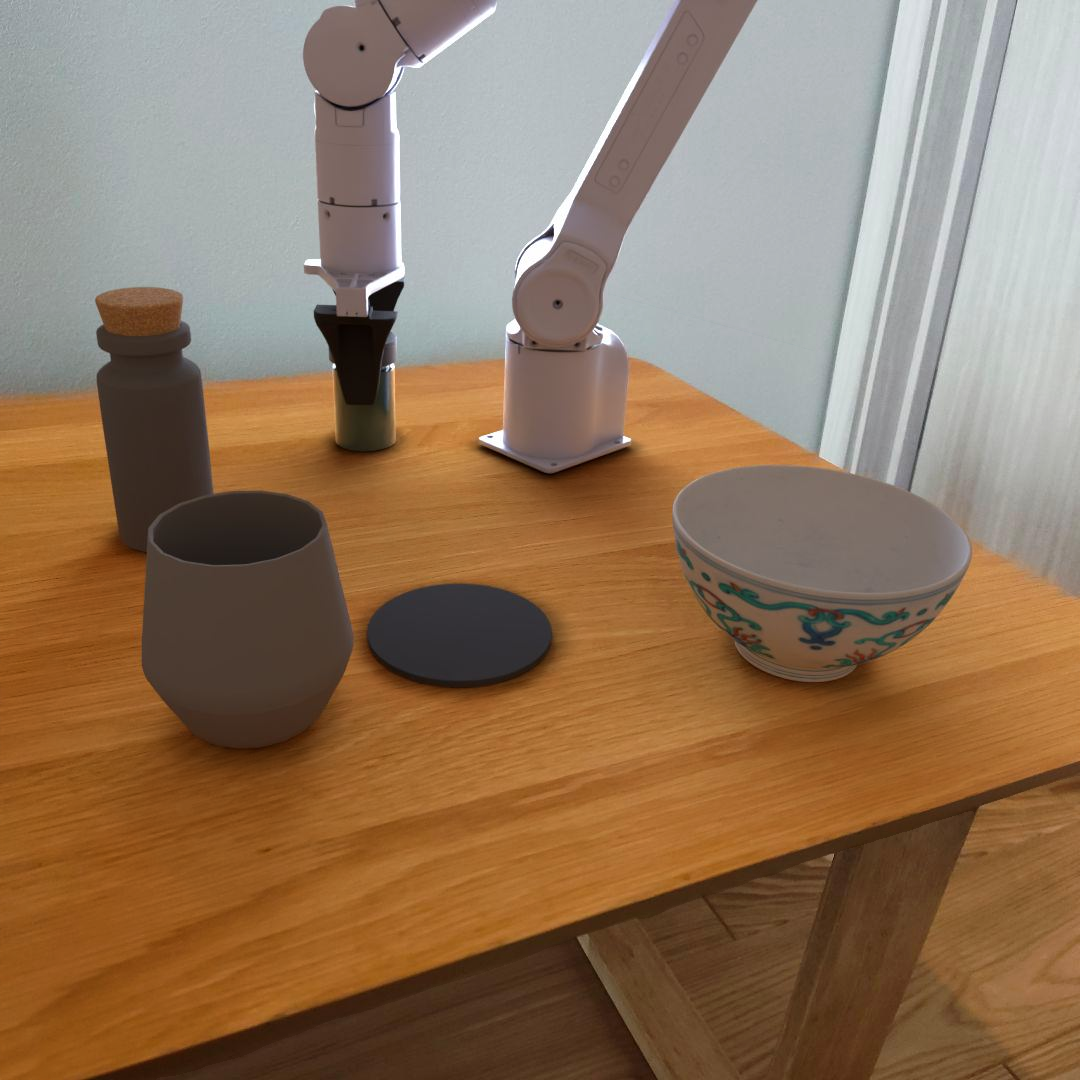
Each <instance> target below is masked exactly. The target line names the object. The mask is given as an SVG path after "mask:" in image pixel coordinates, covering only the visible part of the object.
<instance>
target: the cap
mask: <svg viewBox="0 0 1080 1080" xmlns="http://www.w3.org/2000/svg"><path fill="white" fill-rule="evenodd" d="M328 360H329V361H330V362H331V364H332V365H333V364H335V363H334V360H333V357H332V354H331V351H330V349H329V348H328ZM397 360H398V336H397V334H395V333H394V332H393V331H390V333H389V335H388V338H387V341H386V343H385V347H384V352H383V357H382V363H381V367H385V366H388V365H391V364H395V363H396V362H397Z"/></svg>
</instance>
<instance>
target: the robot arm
mask: <svg viewBox="0 0 1080 1080" xmlns="http://www.w3.org/2000/svg"><path fill="white" fill-rule="evenodd" d="M757 2H758V0H673V1H672V3H671V5H670V6H669V8H668V9H667V12H666V14H665V16H664V18H663V19H662V21H661V23H660V25H659V27H658V28H657V31H656V32H655V34H654V37H653V38H652V40H651V42H650V44H649V46H648V48H647V50H646V51H645V53H644V55H643V57H642V59H641V61H640V63H639V64H638V67H637V68H636V70H635V72H634V74H633V76H632V77H631V79H630V81H629V83H628V85H627V87H626V89H625V90H624V93H623V94H622V96H621V98H620V100H619V101H618V104H617V105H616V107H615V109H614V111H613V113H612V114H611V117H610V119H609V121H608V122H607V124H606V126H605V128H604V130H603V132H602V133H601V135H600V137H599V139H598V141H597V143H596V145H595V146H594V148H593V150H592V153H591V154H590V156H589V157H588V160H587V161H586V163H585V165H584V167H583V169H582V171H581V173H580V174H579V176H578V179H577V181H576V182H575V184H574V186H573V188H572V190H571V191H570V193H569V194H568V196H567V197H566V198H565V200H564V201H563V203H562V204H561V205H560V207H559V208H558V209H557V211H556V213H555V215H554V217H553V219H552V220H551V222H550V224H549V225H548V226H547V228H545V230H544V231H543V232H542V233H541V234H539V235H537V236H535V237H534V238H533V239H532V240H530V241H529V242H528V243H527V244H526V245H525V246H524V247H523V248H522V250H521V251H520V254H519V255H518V257H517V260H516V263H515V269H514V280H515V284H514V287H513V291H512V296H511V308H512V313H513V314H512V315H513V316H514V319H513V320H512V321H510V322H509V323H508V324H506V326H505V352H504V378H503V379H504V382H503V383H504V385H503V412H502V413H503V415H502V430H498V431H495V432H492V433H489V434H485V435H482V436H480V437H478V444H479V445H481V446H483V447H485V448H487V449H490V450H492V451H495V452H497V453H499V454H501V455H504V456H506V457H508V458H510V459H512V460H515V461H517V462H519V463H522V464H524V465H526V466H529V467H532V468H533V469H536V470H538V471H540V472H542V473H544V474H554V473H555V474H556V473H557V472H561V471H563V470H566V469H569V468H571V467H575V466H577V465H580V464H584V463H586V462H589V461H592V460H595V459H597V458H599V457H602V456H604V455H608V454H610V453H614V452H616V451H619V450H623V449H625V448H627V447H630V446H631V445H632V439H631V437H627V436H625V426H626V425H625V424H626V412H627V401H628V390H629V379H630V360H629V356H628V355H629V354H628V352H627V350H626V347H625V344H624V343H623V341H622V340H621V338H620V337H619V335H617V334H616V333H615V332H614V331H613V330H611V329H609V328H607V327H605V326H603V325H601V324H599V322H600V320H601V317H602V313H603V310H604V297H605V296H604V294H605V293H604V292H605V287H606V284H607V282H608V279H609V278H610V275H611V273H612V272H613V270H614V268H615V267H616V264H617V261H618V259H619V255H620V252H621V249H622V247H623V244H624V240H625V237H626V235H627V233H628V230H629V229H630V226H631V224H632V222H633V221H634V219H635V217H636V216H637V215H638V212H639V210H640V209H641V207H642V206H643V204H644V201H645V200H646V198H647V196H648V195H649V193H650V191H651V189H652V187H653V186H654V185H655V182H656V180H657V179H658V177H659V175H660V173H661V172H662V170H663V168H664V167H665V164H666V163H667V162H668V159H669V158H670V156H671V154H672V152H673V151H674V148H675V146H677V143H678V141H679V140H680V138H681V136H682V135H683V133H684V131H685V129H686V127H688V126H687V125H688V124H689V122H690V120H691V118H692V117H693V115H694V113H695V112H696V110H697V108H698V107H699V104H700V103H701V101H702V99H703V98H704V96H705V94H706V92H707V90H708V89H709V87H710V85H711V83H712V82H713V79H714V78H715V76H716V74H717V72H718V71H719V69H720V68H721V66H722V64H723V62H724V60H725V59H726V57H727V55H728V54H729V52H730V50H731V48H732V46H733V44H734V43H735V41H736V39H737V38H738V35H739V34H740V32H741V30H742V29H743V28H744V25H745V23H746V22H747V20H748V18H749V16H750V14H751V13H752V11H753V9H754V8H755V6H756V4H757ZM353 4H354V6H352V5H335V6H331V7H328V8H325V9H324V10H323V11H322V12H321V15H320V16H319V18H318V19H317V20H316V21H315V22H314V24H312V25H311V27H310V29H309V31H308V32H307V34H306V37H305V39H304V43H303V49H302V60H303V66H304V71H305V74H306V77H307V78H308V80H309V82H310V84H311V86H312V87H313V88H314V89H315V91H314V93H313V96H314V103H313V112H314V115H315V128H314V130H313V138H314V154H315V155H314V156H315V157H314V158H315V176H316V177H315V178H316V198H317V213H318V214H317V216H318V217H317V218H318V238H319V239H318V240H319V254H320V255H319V258H310V259H306V260H305V262H304V263H303V273H304V274H305V275H310V276H311V275H312V276H313V275H314V276H319V277H320V278H321V279H322V280H323V281H324V282H325V283H326V284H327V285H328V286H329V287H330V288H331V290H332V292H333V294H334V295H335V304H316V305H315V307H314V309H313V318H314V323H315V324H316V327H317V328H318V330H319V331H320V333H321V334H322V336H323V338H324V340H325V342H326V344H327V347H328V350H329V349H330V351H331V354H332V357H333V360H334V363H335V367H336V371H337V375H338V379H339V383H340V387H341V391H342V394H343V397H344V400H345V403H346V404H347V405H374V403H375V400H376V396H377V392H378V387H379V380H380V372H381V363H382V357H383V352H384V347H385V343H386V341H387V338H388V335H389V333H390V332H392V329H393V327H394V325H395V323H396V321H397V317H398V313H399V311H396V310H395V308H396V305H397V303H398V301H399V298H400V296H401V294H402V291H403V289H404V288H405V284H406V276H405V264H404V262H403V261H402V227H401V226H402V221H401V219H402V217H401V172H400V171H401V170H400V169H401V167H400V131H399V130H398V128H397V100H396V99H397V98H396V97H397V96H396V92H395V91H394V90H395V89H396V87H397V86H398V84H399V83H400V81H401V79H402V77H403V74H404V70H405V67H411V68H415V69H419V68H421V67H422V66H423V65H425V64H426V63H427V62H429V61H430V60H431V59H433V58H434V57H435V56H437V55H438V54H440V53H441V52H443V50H445V49H446V48H447V47H449V46H450V45H452V44H454V42H456V41H457V40H458V39H460V38H461V37H462V36H464V35H465V34H466V33H468V32H469V31H470V30H472V29H474V27H476V26H477V25H479V24H480V23H481V22H483V21H484V20H485V19H487V18H488V17H489V16H491V15H493V13H495V11H496V8H497V4H498V0H353Z"/></svg>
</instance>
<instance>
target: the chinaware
mask: <svg viewBox="0 0 1080 1080" xmlns="http://www.w3.org/2000/svg"><path fill="white" fill-rule="evenodd" d="M672 529H673V535H674V542H675V547H676V552H677V557H678V560H679V564H680V566H681V569H682V573H683V575H684V578H685V580H686V583H687V584H688V587H689V589H690V591H691V593H692V594H693V596H694V598H695V600H696V601H697V602H698V604H699V606H700V607H701V608H702V610H703V611H704V612H705V614H706V615H707V616H708V617H709V618H710V619H711V621H712V622H713V623H714V624H715V625H716V626H717V627H718V628H719V629H720V630H721V631H722V632H724V633H725V634H726V635H728V637H729V638H731V639H732V640H733V641H734V645H735V648H736V649H737V651H738V653H739V654H740V656H742V658H744V660H746V661H747V662H748V663H750V664H751V665H752V666H754V667H755V668H757V669H759V670H761V671H763V672H765V673H767V674H769V675H772V676H774V677H778V678H781V679H785V680H788V681H789V680H790V681H795V682H801V683H802V682H803V683H822V682H823V683H824V682H830V681H835V680H838V679H841V678H844V677H846V676H848V675H849V674H850V673H852V672H853V671H854V670H855V669H856V668H857V666H858V665H862V664H865V663H869V662H871V661H874V660H877V659H879V658H882V657H885V656H887V655H888V654H891V653H893V652H895V651H896V650H898V649H900V648H901V647H903V646H905V645H907V644H908V643H909V642H911V641H912V640H913V639H915V638H916V637H918V636H919V635H920V634H921V633H922V632H923V631H924V630H926V628H928V627H929V626H930V625H931V624H932V623H933V622H934V620H935V619H936V618H937V617H938V616H939V615H940V613H941V612H942V611H943V610H944V608H946V607H947V605H948V603H949V602H950V601H951V599H952V598H953V597H954V595H955V593H956V591H957V589H959V587H960V584H961V582H962V581H963V579H964V577H965V575H966V573H967V570H968V569H969V567H970V564H971V561H972V557H973V546H972V542H971V540H970V537H969V535H968V533H967V532H966V530H965V529H964V528H963V527H962V525H961V524H960V523H959V522H958V521H957V519H955V518H954V517H953V516H952V515H950V514H949V513H947V512H946V511H945V510H943V509H942V508H941V507H940V506H938V505H936V504H934V503H933V502H932V501H929V500H927V499H926V498H923V497H922V496H920V495H918V494H916V493H913V492H911V491H909V490H906V489H904V488H901V487H899V486H896V485H893V484H892V483H891V484H890V483H888V482H884V481H881V480H878V479H875V478H871V477H868V476H864V475H860V474H855V473H852V472H846V471H842V470H835V469H831V468H823V467H817V466H807V465H796V464H795V465H794V464H758V465H757V464H756V465H747V466H745V465H744V466H738V467H737V466H736V467H731V468H727V469H722V470H717V471H715V472H711V473H709V474H705V475H703V476H700V477H698V478H697V479H694V480H693V481H691V482H689V483H688V484H687V485H686V486H684V487H683V488H682V489H681V490H680V491H679V493H678V494H677V496H676V497H675V499H674V502H673V505H672Z"/></svg>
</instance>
